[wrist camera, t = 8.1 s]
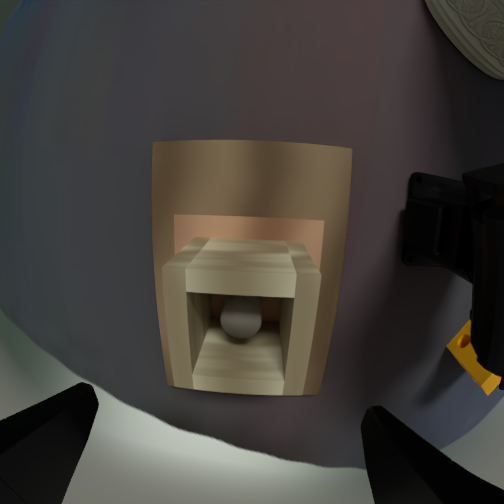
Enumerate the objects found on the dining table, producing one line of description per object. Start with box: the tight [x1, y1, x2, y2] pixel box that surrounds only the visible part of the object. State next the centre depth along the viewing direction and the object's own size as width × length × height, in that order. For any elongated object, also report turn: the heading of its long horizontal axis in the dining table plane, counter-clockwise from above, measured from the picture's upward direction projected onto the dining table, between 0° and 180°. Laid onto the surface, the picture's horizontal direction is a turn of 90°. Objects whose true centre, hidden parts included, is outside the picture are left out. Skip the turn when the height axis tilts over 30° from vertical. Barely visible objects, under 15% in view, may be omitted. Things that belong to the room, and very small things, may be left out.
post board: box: [152, 140, 352, 395], centre depth 16 cm, size 12×18×6 cm, turn 178°
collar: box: [162, 237, 321, 395], centre depth 15 cm, size 6×6×6 cm
